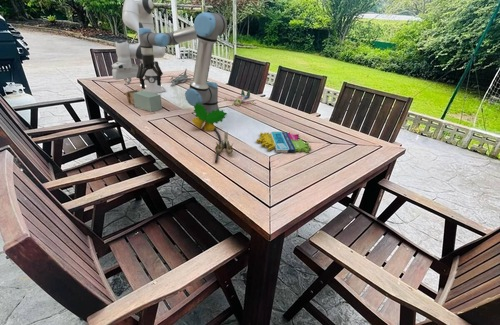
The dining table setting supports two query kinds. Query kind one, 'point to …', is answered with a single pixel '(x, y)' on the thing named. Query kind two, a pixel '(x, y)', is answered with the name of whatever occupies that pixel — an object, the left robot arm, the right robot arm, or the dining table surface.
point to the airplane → (180, 78)
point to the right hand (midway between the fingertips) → (151, 87)
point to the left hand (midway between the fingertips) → (128, 84)
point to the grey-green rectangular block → (147, 100)
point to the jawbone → (224, 145)
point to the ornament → (207, 117)
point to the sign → (283, 142)
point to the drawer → (130, 96)
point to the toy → (241, 99)
